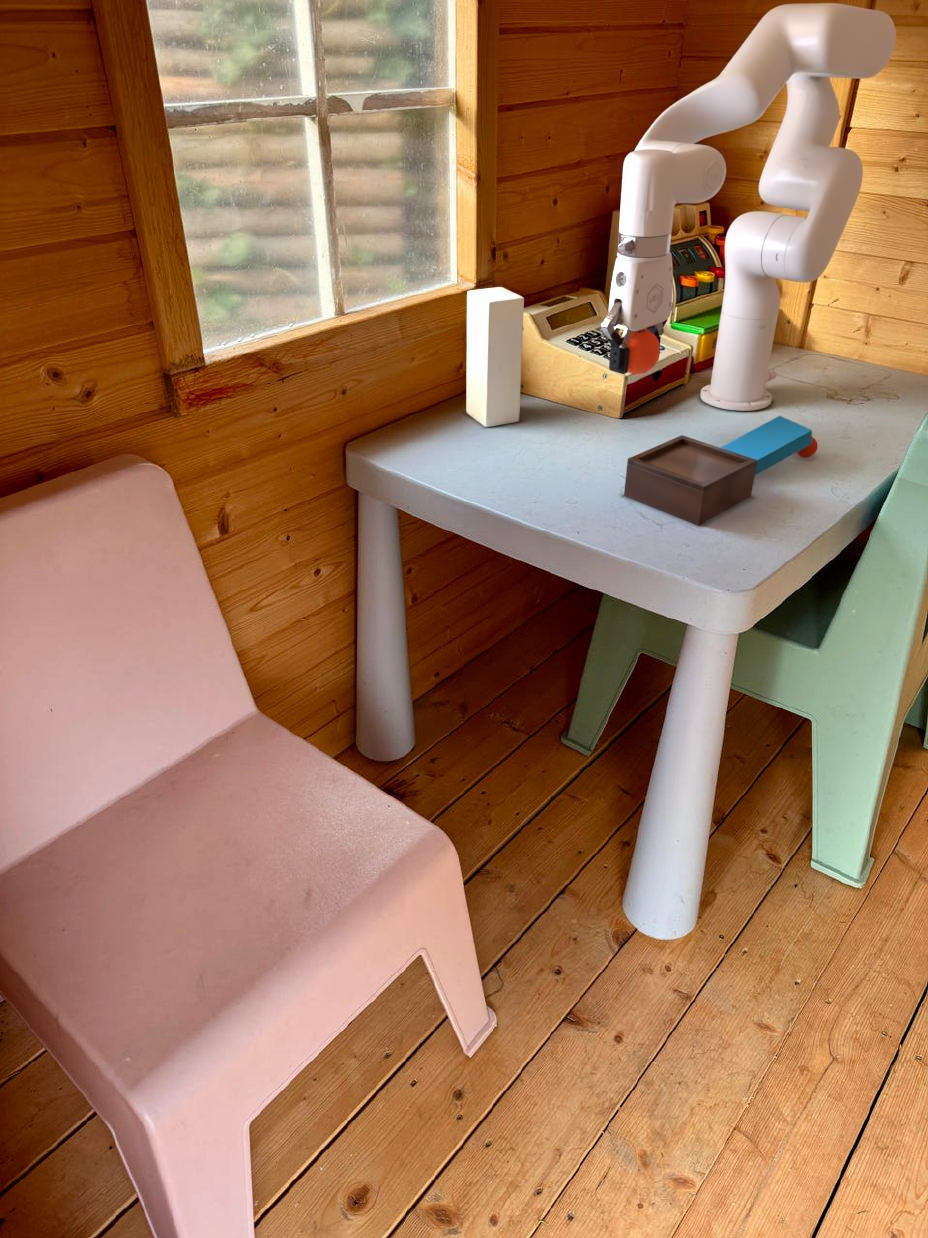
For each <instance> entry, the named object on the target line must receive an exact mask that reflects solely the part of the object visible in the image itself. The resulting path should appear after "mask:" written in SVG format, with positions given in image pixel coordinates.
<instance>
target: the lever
mask: <svg viewBox="0 0 928 1238" xmlns="http://www.w3.org/2000/svg"><path fill="white" fill-rule="evenodd" d="M720 448H722V449H725V450H728V451H731V452H734V453H738V454H741V455H744V456H747V457H750V458H753V459H756V460H758V461H757V466H756V472H755V476H757V475H759V474H760V473H762V472H764V471H766V470H767V469H769V468H771V467H773V466H775V465H777V464H778V463H781V462H782V461H784V460H786V459H787V458H789V457H791V456H793V455H795V454H796V455H798V456H799V457H801V458H804V459H807V458H811V457H812V456H814V455H815V454H816V453H817V451H818V448H819V444H818V441H817V440H816V438H815V437H813V429H810V428H809V427H807V426H805V425H802V424H799V423H797V422H795V421H792V420H790V419H788V418H786V417H784V416H782V415H778V416H776V417H775V418H772V419H770V420H769V421H766V422H765V423H763V424H761V425H760V426H757V427H756V428H754V429H752V430H750V431H748V432H747V433H744V434H743V435H740V436H739V437H737V438H735V439H734V440H731V441H730V442H728V443H726V444H725V445H723V446H721V447H720Z"/></svg>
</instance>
